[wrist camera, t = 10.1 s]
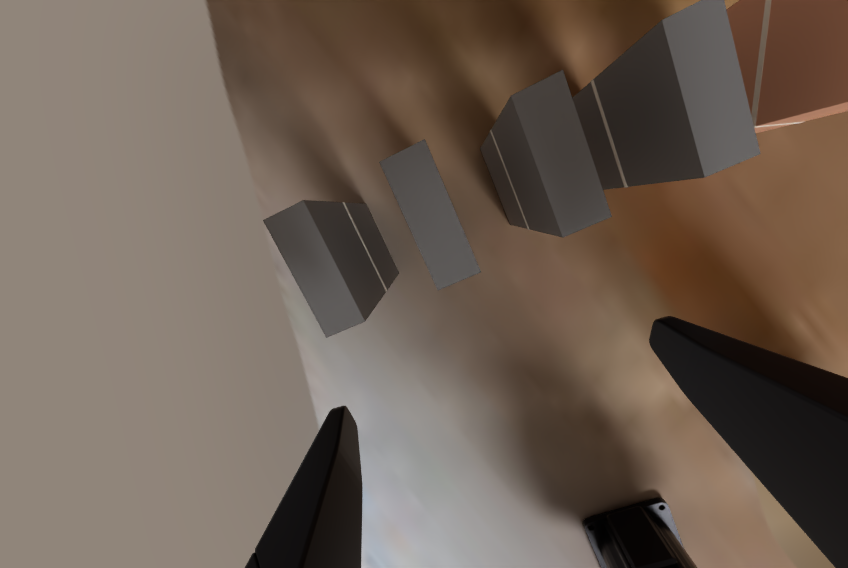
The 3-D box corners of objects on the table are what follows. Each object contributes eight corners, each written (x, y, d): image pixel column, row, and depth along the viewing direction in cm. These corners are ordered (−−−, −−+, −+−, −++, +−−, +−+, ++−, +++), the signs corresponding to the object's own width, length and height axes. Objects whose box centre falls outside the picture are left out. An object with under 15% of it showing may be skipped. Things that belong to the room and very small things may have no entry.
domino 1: (399, 273, 23) (365, 321, 13) (376, 283, 23) (326, 338, 13) (366, 203, 22) (303, 199, 12) (342, 214, 22) (262, 220, 13)
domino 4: (612, 179, 21) (761, 154, 11) (583, 192, 21) (704, 178, 11) (585, 97, 20) (722, -12, 10) (556, 111, 20) (661, 19, 10)
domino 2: (465, 244, 22) (481, 272, 12) (440, 255, 22) (437, 291, 13) (434, 170, 21) (424, 138, 12) (408, 182, 22) (378, 161, 12)
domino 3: (536, 213, 21) (612, 217, 12) (509, 224, 22) (562, 238, 12) (507, 135, 20) (563, 68, 11) (479, 148, 21) (510, 95, 11)
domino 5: (680, 151, 20) (1175, 32, 6) (648, 154, 20) (1069, 44, 7) (688, 55, 19) (1311, -336, 5) (654, 59, 19) (1179, -313, 5)
